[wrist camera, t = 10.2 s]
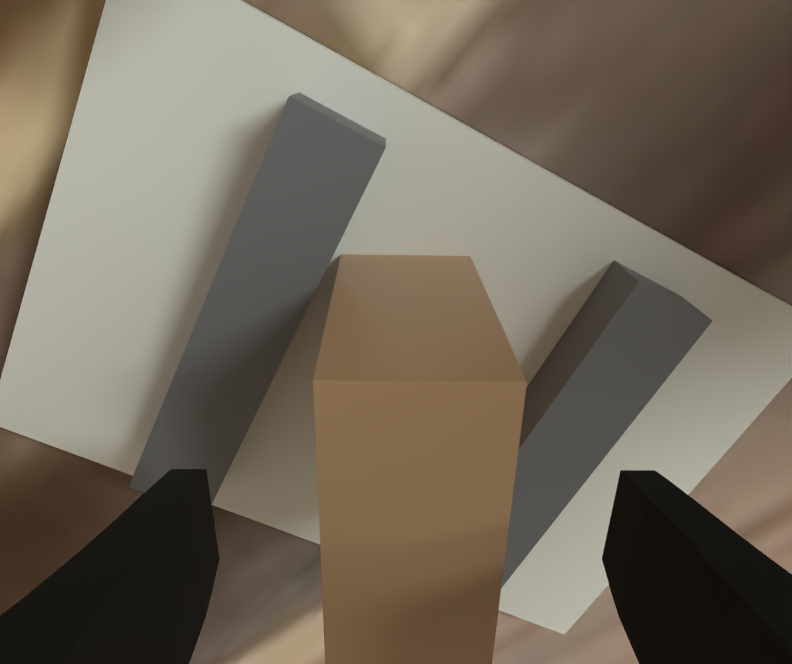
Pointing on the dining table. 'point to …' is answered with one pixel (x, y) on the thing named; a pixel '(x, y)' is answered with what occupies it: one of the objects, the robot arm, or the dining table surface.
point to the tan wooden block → (414, 461)
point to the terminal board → (315, 277)
